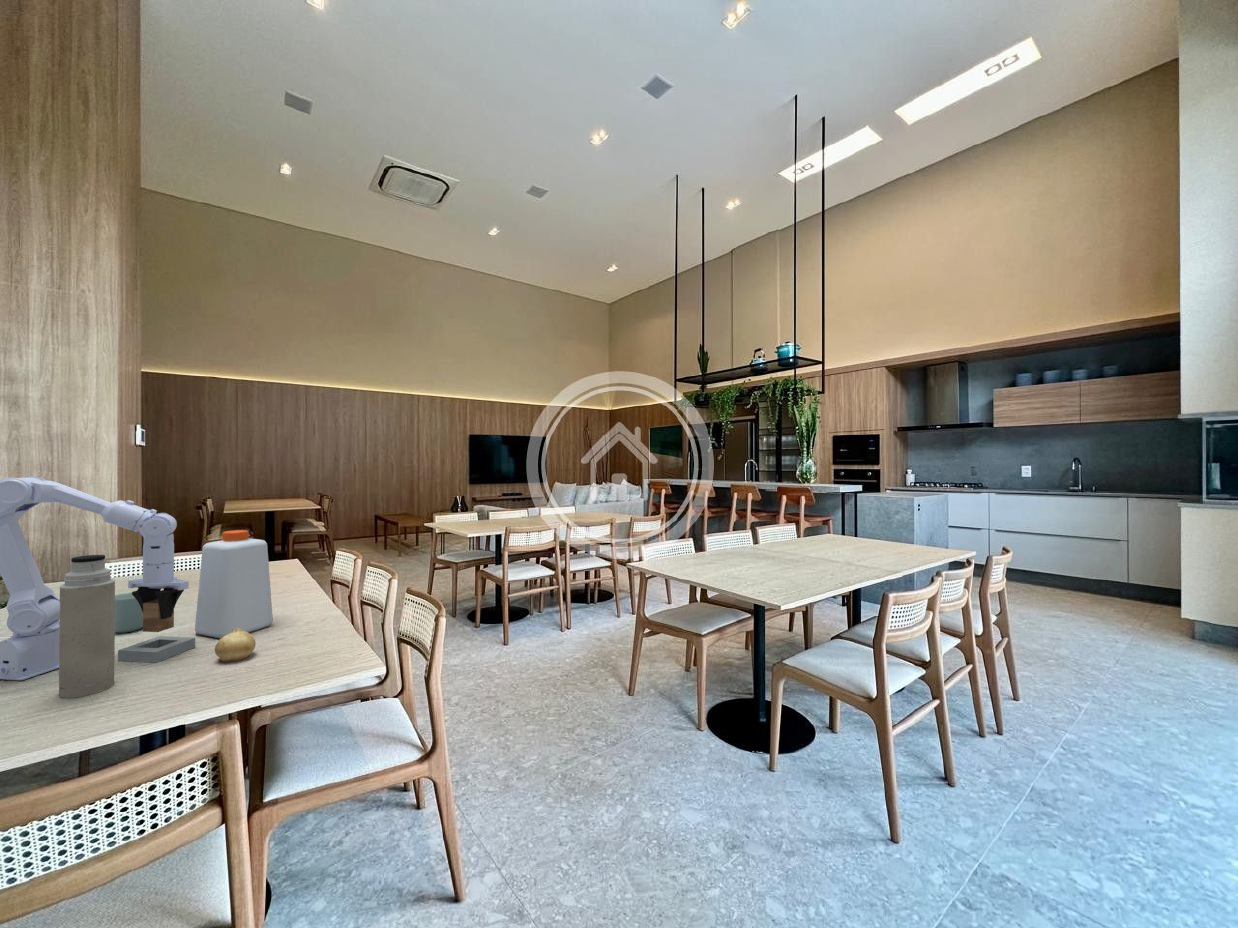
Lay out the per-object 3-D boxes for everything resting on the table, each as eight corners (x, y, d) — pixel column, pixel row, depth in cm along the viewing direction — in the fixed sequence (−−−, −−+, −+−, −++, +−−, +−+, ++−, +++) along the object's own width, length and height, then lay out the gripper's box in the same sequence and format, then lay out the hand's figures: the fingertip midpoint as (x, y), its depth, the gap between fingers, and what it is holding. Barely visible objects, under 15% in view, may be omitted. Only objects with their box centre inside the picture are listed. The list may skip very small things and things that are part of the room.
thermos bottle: (57, 690, 105) (58, 556, 104) (111, 677, 111) (112, 551, 111) (60, 701, 100) (61, 561, 99) (116, 688, 106) (117, 555, 106)
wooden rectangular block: (157, 632, 122) (157, 603, 122) (143, 631, 123) (143, 602, 123) (173, 626, 126) (174, 599, 126) (159, 626, 127) (159, 598, 127)
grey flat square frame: (155, 662, 119) (155, 652, 119) (117, 660, 120) (118, 650, 120) (195, 647, 129) (195, 637, 129) (160, 645, 130) (160, 635, 130)
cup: (155, 626, 144) (155, 592, 144) (125, 636, 137) (126, 599, 137) (130, 625, 145) (131, 591, 145) (100, 634, 138) (100, 598, 137)
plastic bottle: (244, 618, 153) (244, 526, 153) (279, 624, 148) (280, 529, 148) (187, 634, 139) (188, 533, 138) (224, 641, 134) (225, 536, 133)
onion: (263, 654, 125) (263, 625, 125) (231, 666, 118) (231, 636, 117) (239, 650, 127) (239, 622, 127) (206, 662, 120) (206, 633, 120)
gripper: (200, 560, 128) (199, 613, 128) (149, 558, 129) (148, 611, 129) (172, 566, 121) (172, 622, 121) (119, 564, 122) (118, 620, 122)
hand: (158, 617), depth 125 cm, fingers closed on wooden rectangular block, 4 cm apart
